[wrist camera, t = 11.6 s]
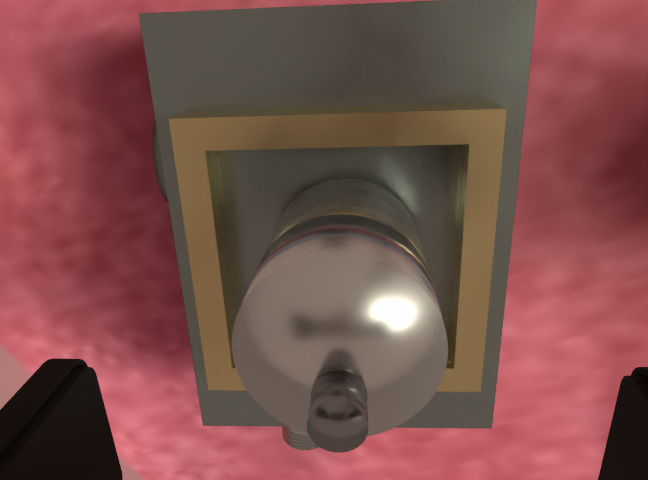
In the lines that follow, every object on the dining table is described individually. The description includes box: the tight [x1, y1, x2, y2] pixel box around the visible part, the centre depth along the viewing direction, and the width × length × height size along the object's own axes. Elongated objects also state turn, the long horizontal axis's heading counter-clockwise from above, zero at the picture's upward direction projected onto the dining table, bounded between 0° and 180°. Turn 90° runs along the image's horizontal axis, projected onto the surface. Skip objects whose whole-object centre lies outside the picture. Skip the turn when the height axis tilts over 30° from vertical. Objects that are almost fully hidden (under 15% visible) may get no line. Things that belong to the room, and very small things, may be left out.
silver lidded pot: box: [232, 179, 448, 452], centre depth 15 cm, size 5×5×8 cm
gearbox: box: [139, 0, 537, 450], centre depth 21 cm, size 19×13×8 cm, turn 2°
